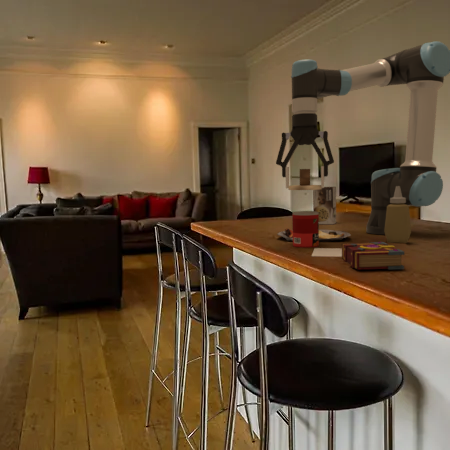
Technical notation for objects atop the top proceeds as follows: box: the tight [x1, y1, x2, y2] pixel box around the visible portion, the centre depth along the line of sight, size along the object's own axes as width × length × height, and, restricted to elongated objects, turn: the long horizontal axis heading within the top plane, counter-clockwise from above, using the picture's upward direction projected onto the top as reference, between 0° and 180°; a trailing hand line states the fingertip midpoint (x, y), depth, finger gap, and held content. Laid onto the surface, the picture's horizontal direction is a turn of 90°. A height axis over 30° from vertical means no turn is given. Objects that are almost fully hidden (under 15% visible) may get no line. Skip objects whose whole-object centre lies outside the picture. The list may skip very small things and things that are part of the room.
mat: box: [311, 247, 342, 258], centre depth 143 cm, size 14×14×1 cm
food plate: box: [276, 228, 352, 243], centre depth 176 cm, size 25×23×4 cm
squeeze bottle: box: [384, 186, 412, 244], centre depth 160 cm, size 8×8×18 cm
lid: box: [287, 168, 322, 191], centre depth 155 cm, size 10×10×6 cm
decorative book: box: [341, 241, 405, 271], centre depth 126 cm, size 11×16×5 cm
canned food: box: [292, 210, 320, 249], centre depth 156 cm, size 8×8×11 cm
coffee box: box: [312, 186, 337, 225], centre depth 222 cm, size 9×6×16 cm
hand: (304, 188), depth 155 cm, fingers closed on lid, 10 cm apart
